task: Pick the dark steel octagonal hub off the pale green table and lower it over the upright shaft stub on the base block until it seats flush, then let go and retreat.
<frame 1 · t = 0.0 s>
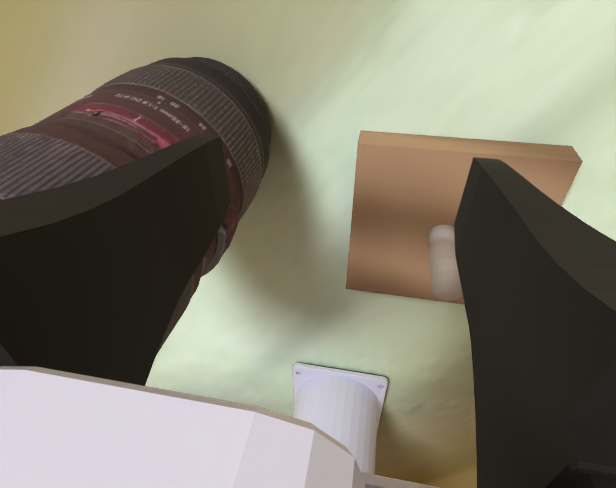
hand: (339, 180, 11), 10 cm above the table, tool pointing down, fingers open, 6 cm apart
shaft stand: (441, 220, 23), on the table
camera lens: (213, 119, 22), on the table, touching gripper
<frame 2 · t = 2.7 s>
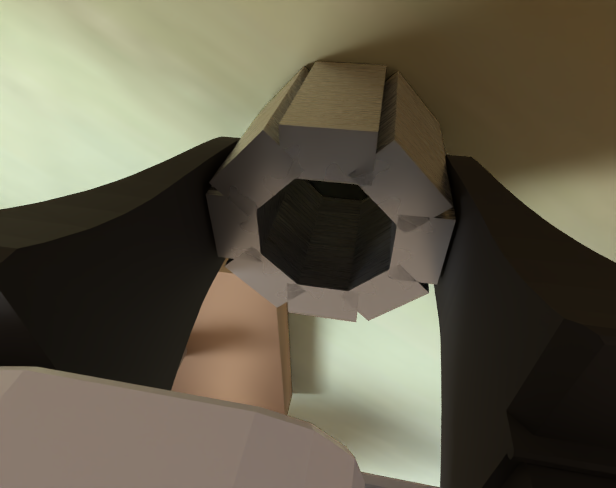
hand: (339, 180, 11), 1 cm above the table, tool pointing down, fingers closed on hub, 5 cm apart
shaft stand: (183, 319, 19), on the table
hub: (344, 156, 12), on the table, touching gripper
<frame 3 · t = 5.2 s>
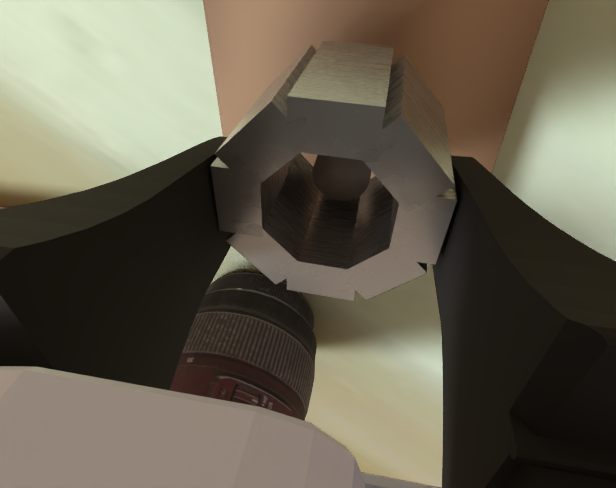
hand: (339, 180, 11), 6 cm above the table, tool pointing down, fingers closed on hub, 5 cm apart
shaft stand: (358, 102, 15), on the table
hub: (348, 138, 12), point 4 cm above the table, touching gripper
camera lens: (258, 308, 24), on the table
when the fingers open (4 cm above the table, at t = 6.6 s): hub stays where it is, resting on shaft stand.
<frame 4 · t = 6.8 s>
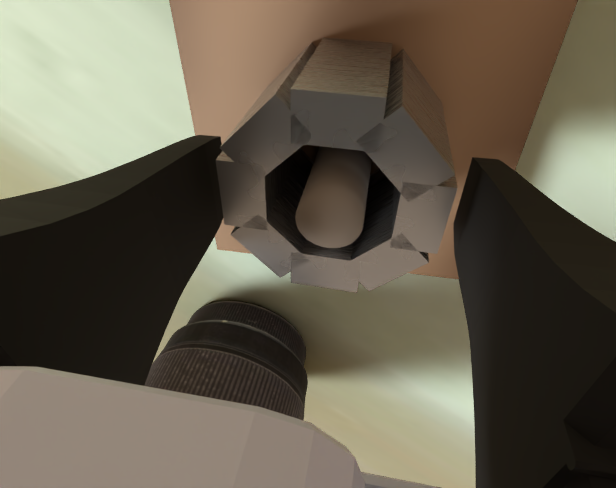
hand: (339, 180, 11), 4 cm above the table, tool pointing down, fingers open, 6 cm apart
shaft stand: (352, 125, 14), on the table
hub: (348, 133, 12), point 1 cm above the table, touching shaft stand
camera lens: (247, 336, 23), on the table
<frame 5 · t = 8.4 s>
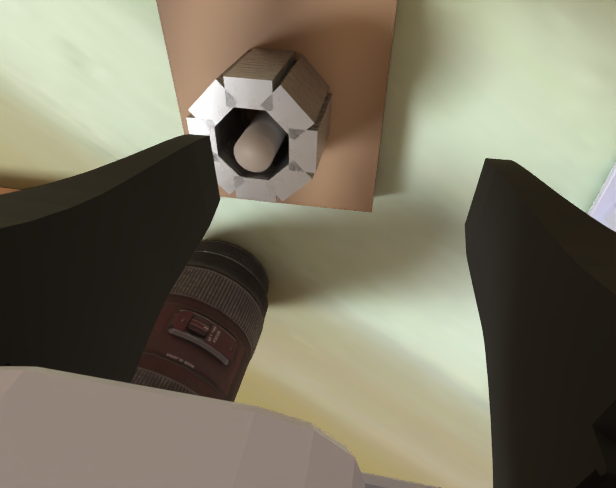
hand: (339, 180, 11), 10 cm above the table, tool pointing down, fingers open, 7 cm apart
shaft stand: (284, 104, 20), on the table
hub: (276, 108, 19), point 1 cm above the table, touching shaft stand
camera lens: (224, 273, 29), on the table
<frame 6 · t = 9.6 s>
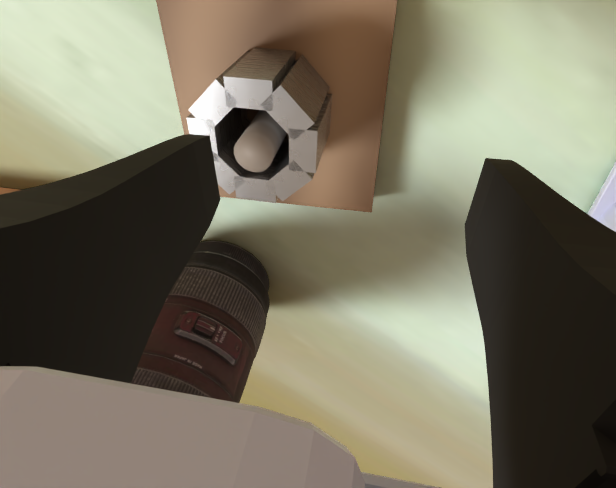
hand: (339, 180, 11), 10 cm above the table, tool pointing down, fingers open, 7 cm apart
shaft stand: (284, 104, 20), on the table
hub: (276, 108, 19), point 1 cm above the table, touching shaft stand
camera lens: (224, 273, 29), on the table
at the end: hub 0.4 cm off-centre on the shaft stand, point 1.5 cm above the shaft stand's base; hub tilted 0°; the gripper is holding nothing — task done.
